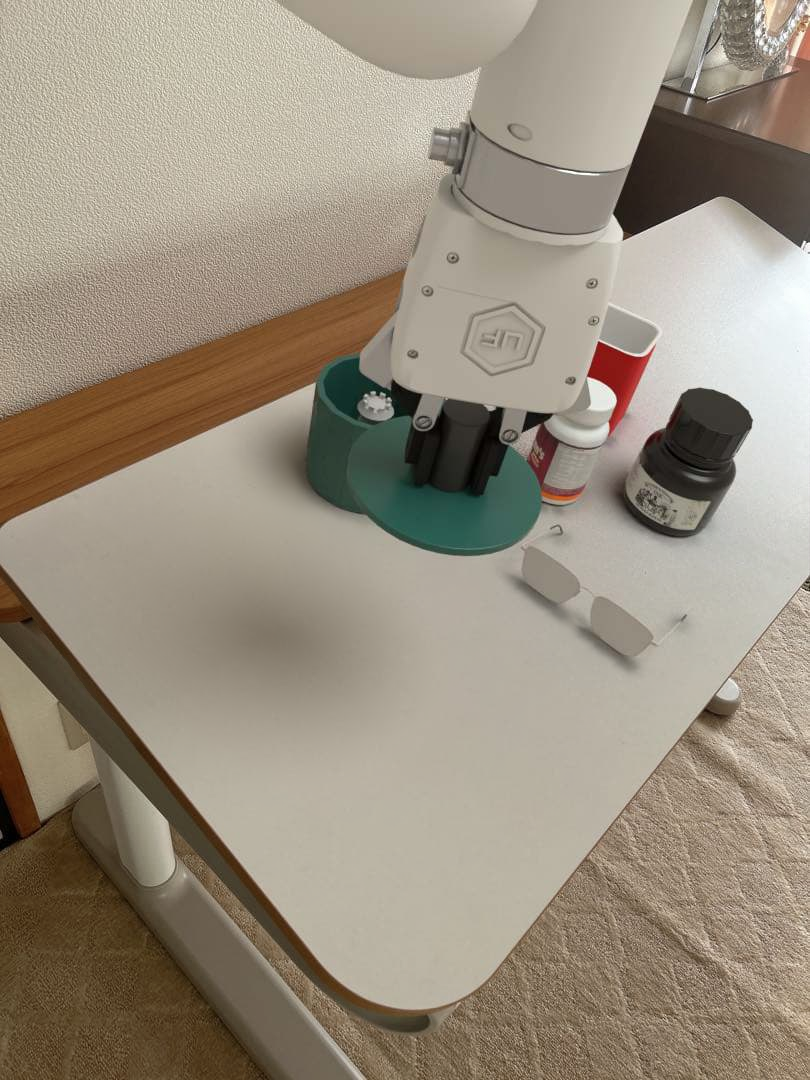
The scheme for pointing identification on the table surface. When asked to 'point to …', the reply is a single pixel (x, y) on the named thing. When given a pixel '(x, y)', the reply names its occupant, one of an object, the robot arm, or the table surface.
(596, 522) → the table surface
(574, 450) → the pill bottle
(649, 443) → the ink bottle
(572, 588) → the eyeglasses
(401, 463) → the lid
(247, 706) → the table surface
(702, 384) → the table surface
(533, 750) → the table surface
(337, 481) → the canister
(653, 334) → the mug
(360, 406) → the rook chess piece
